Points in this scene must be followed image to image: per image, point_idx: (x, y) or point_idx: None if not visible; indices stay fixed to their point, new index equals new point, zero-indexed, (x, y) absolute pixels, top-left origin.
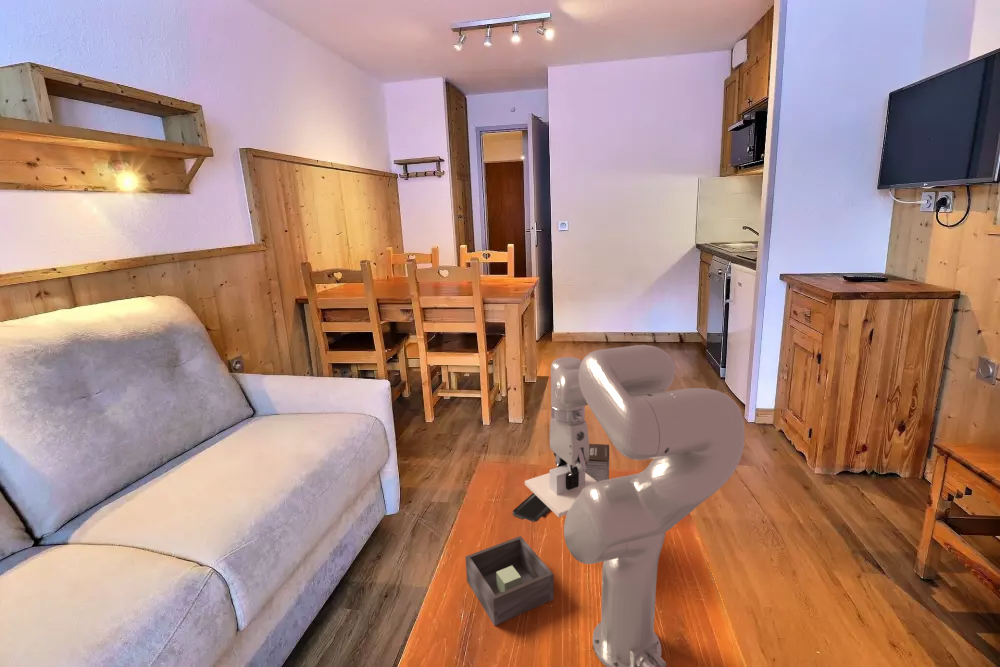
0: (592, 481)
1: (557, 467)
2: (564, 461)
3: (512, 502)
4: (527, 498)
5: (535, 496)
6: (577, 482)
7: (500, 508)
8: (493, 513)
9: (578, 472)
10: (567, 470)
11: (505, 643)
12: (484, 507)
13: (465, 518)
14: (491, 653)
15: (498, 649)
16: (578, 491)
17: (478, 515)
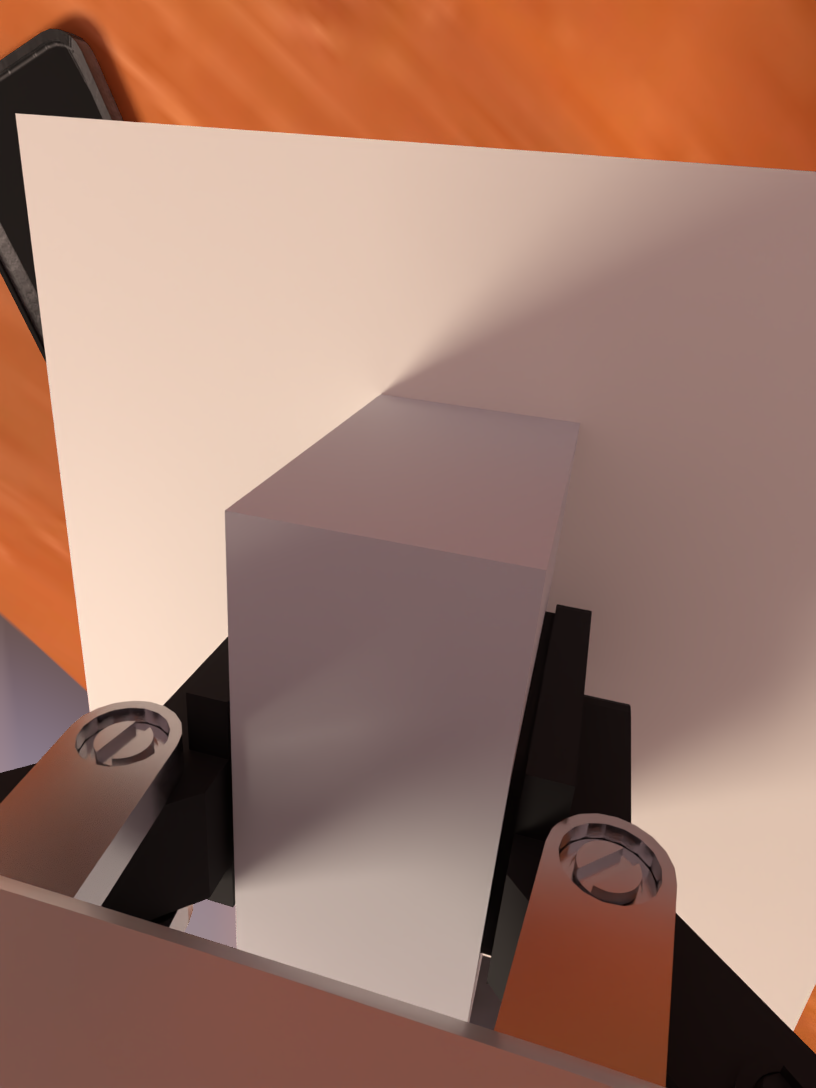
0: (574, 230)
1: (239, 937)
2: (167, 833)
3: (11, 384)
4: (14, 294)
5: (9, 226)
6: (628, 726)
7: (39, 476)
8: (66, 532)
9: (691, 951)
10: (425, 925)
11: (811, 994)
12: (3, 537)
13: (52, 656)
14: (805, 1043)
15: (812, 1022)
16: (631, 614)
17: (53, 599)
